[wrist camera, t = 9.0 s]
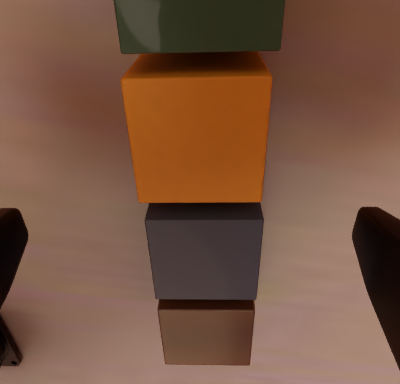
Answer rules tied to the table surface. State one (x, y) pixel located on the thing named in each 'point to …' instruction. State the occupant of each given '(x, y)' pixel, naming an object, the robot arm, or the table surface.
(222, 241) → the slate block
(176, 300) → the walnut block
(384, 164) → the table surface
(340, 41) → the table surface
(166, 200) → the mustard block
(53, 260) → the table surface
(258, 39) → the green block
